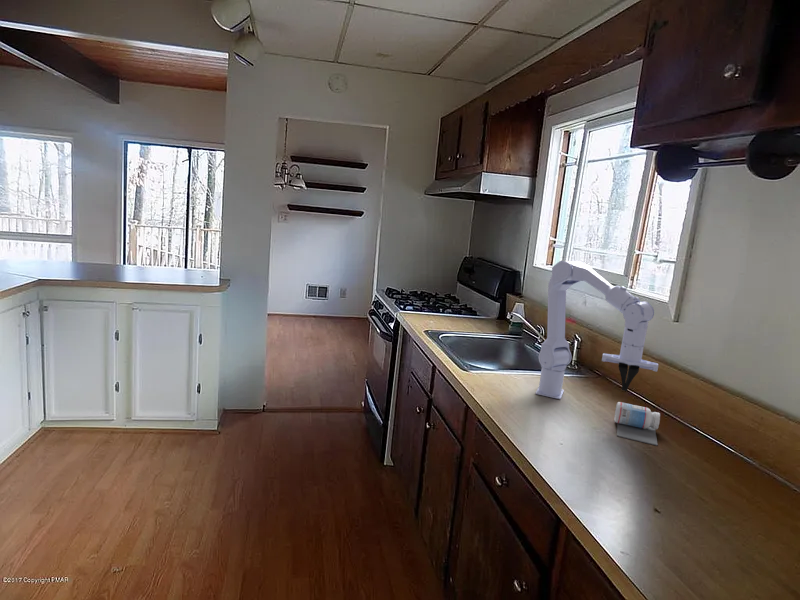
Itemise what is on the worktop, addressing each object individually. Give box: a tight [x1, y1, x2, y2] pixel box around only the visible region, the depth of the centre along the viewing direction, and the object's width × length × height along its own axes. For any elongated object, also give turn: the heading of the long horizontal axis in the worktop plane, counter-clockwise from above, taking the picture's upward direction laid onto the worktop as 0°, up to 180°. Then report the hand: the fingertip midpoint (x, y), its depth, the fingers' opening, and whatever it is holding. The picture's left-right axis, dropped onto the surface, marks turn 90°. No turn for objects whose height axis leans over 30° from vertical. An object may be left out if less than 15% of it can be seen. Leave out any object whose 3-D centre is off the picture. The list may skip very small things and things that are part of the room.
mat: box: [616, 423, 659, 447], centre depth 147 cm, size 20×10×1 cm, turn 157°
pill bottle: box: [613, 401, 661, 430], centre depth 146 cm, size 6×6×11 cm
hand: (624, 389), depth 147 cm, fingers closed
